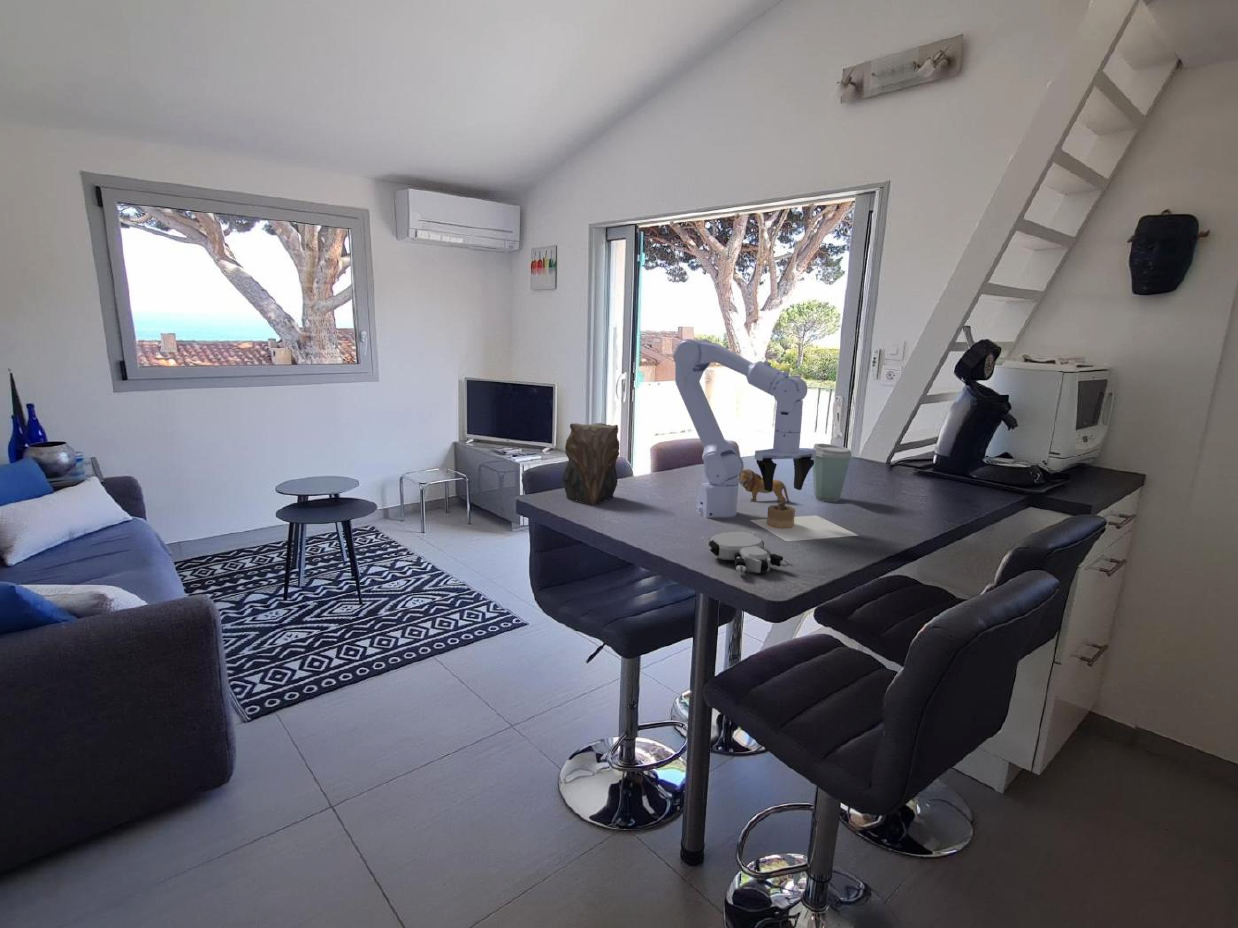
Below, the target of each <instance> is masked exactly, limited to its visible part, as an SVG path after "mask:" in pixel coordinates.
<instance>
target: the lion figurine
mask: <svg viewBox="0 0 1238 928" xmlns="http://www.w3.org/2000/svg"><path fill="white" fill-rule="evenodd" d="M738 480H739V483H738V484H739V485H740V486H741V487H743V488H744V489H745V491H746V492H750V493H751V494H752V498H750V503H757V495H758V493H760V494H761V493H762V494H770V493H771V492H768V491H766V490H765V489H764V482H763V478H762V475H760V474H758V473H756V472H754V471H753V470H751V469H749V468H743V471H742V473H741V474H740V475H739V476H738ZM783 491H784V495H785V496H784V495H783ZM772 492H773V493H774V495H775V496H776V501H780V502H784V503H785V504H787V502H788V503H791V501H790V499H789V495H788V490H787V487H786V485H785V483H783V482H782V481H780V480H778V479H773V488H772Z"/></svg>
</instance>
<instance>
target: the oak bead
mask: <svg viewBox="0 0 1238 928" xmlns="http://www.w3.org/2000/svg"><path fill="white" fill-rule="evenodd" d="M795 513H796V508H795V507H792V506H790V505H786V504H785V510H778V504H770V505H769V506H768V507H767V513H766V514H767V516H766V517H767V518H766V519H767V525H769V526H771V527H775V528H781V529H785V528H792V527H793V526H794V517H796V515H795Z"/></svg>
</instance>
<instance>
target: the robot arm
mask: <svg viewBox="0 0 1238 928" xmlns="http://www.w3.org/2000/svg"><path fill="white" fill-rule="evenodd" d="M672 359H673V361H674V363H675V365H674V366H675V368H674V369H675V371H674V372H675V374H674V375H675V376H674V377H675V378H674V379H675V385H676V386H677V389H678V390H677V391H678V392H679V395H680V396H681V399H682V401H683V403H684V406H685V408H686V410H687V412H688V415H689V417H690V420H691V421H692V425H693V426H694V429H695V431H696V433H697V436H698V438H699V440H700V442H701V445H702V447H703V453H702V455H701V459H702V462H703V466H704V467H703V469H704V470H703V471H704V476H705V478H706V479H707V480H708V481H707V482H705V483H703V482H702V483H700V484H698V487H697V489H696V490H697V491H696V508H695V512H696V513H698V514H699V515H701V516H702V517H703V518H706V519H710V518H713V519H714V518H733V517H736V516H737V513H738V512H737V511H738V499H739V498H738V495H739V484H740V483H739V480H738V478H739V475H740V474H741V473H742V471H743V469H745V468H744V467H745V466H744V461H743V458H742V457H741V456H740V455H739V454H738V453H737V452H736V451H735V449H734V447H733V445H732V444H730V443H729V442H728V441H727V440H725V437H724V435H723V433H722V430H721V428H720V426H719V423H718V421H717V419H716V416H715V414H714V412H713V410H712V408H711V405H710V403H709V401H708V399H707V396H706V394H705V391H704V389H703V387H702V384H701V382H700V381H701V379H702V377H703V374H704V372H705V371H706V370H707V368H709V366H710V365H711V364H712V363H715V364H716V363H717V364H719V365H721V366H724V367H725V368H728V369H730V370H732V371H734V372H737V373H739V374H741V375H743V376H745V377H746V380H747V383H748V384H749V385H751V386H753V387H755V388H757V389H758V390H760V391H763V392H764V393H766V394H768V395H770V396H772V397H773V398H774V399H775V401H776V407H775V420H774V421H775V422H774V433H773V445H772V448H768V449H760V450H759V449H758V450H754V460H756V465H757V466H758V469H759V471H760V473H761V478H763V482H764V489H765V490H766V491H768V492H770V493H772V492H773V491H772V488H773V480H774V478H775V477H774V476H775V472H776V468H777V465H778V464H777V463H776V462H774V460H786V459H787V460H790V459H791V460H793V471H794V475H793V476H794V477H793V489H796V490H797V491H802V489H803V486H804V482H806V481H805V480H806V478H807V475H808V474H809V472H810V471H811V469H813V465H814V460H812V458H816V450H814V449H813V448H800V445H801V435H802V434H801V433H802V420H803V406H804V405H803V403H804V399H805V398H806V397H807V394H808V385H807V383H806V381H805V380H803V378H801V376H797V375H792V376H790V371H787V370H784V371H782V370H780V369H778V368H776V367H774V366H772V362H770V361H768V360H764V361H762V360H759V361H756V362H752V361H750V360H748V359H747V358H744V357H742V356H741V355H739V354H737V353H735V352H733V351H731V350H730V349H728V348H727V347H725V346H723V345H721V344H719V343H717V342H712V341H711V340H709V339H689V338H687V339H683V340H681V341H680V342H679V343H678V344H677V345H676V347H675V350H674V353H673V354H672Z"/></svg>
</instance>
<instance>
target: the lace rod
mask: <svg viewBox="0 0 1238 928" xmlns="http://www.w3.org/2000/svg"><path fill="white" fill-rule="evenodd" d="M777 505H778V510H785V505H786V503H784V502H782V501H779V502H778V503H777Z"/></svg>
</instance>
